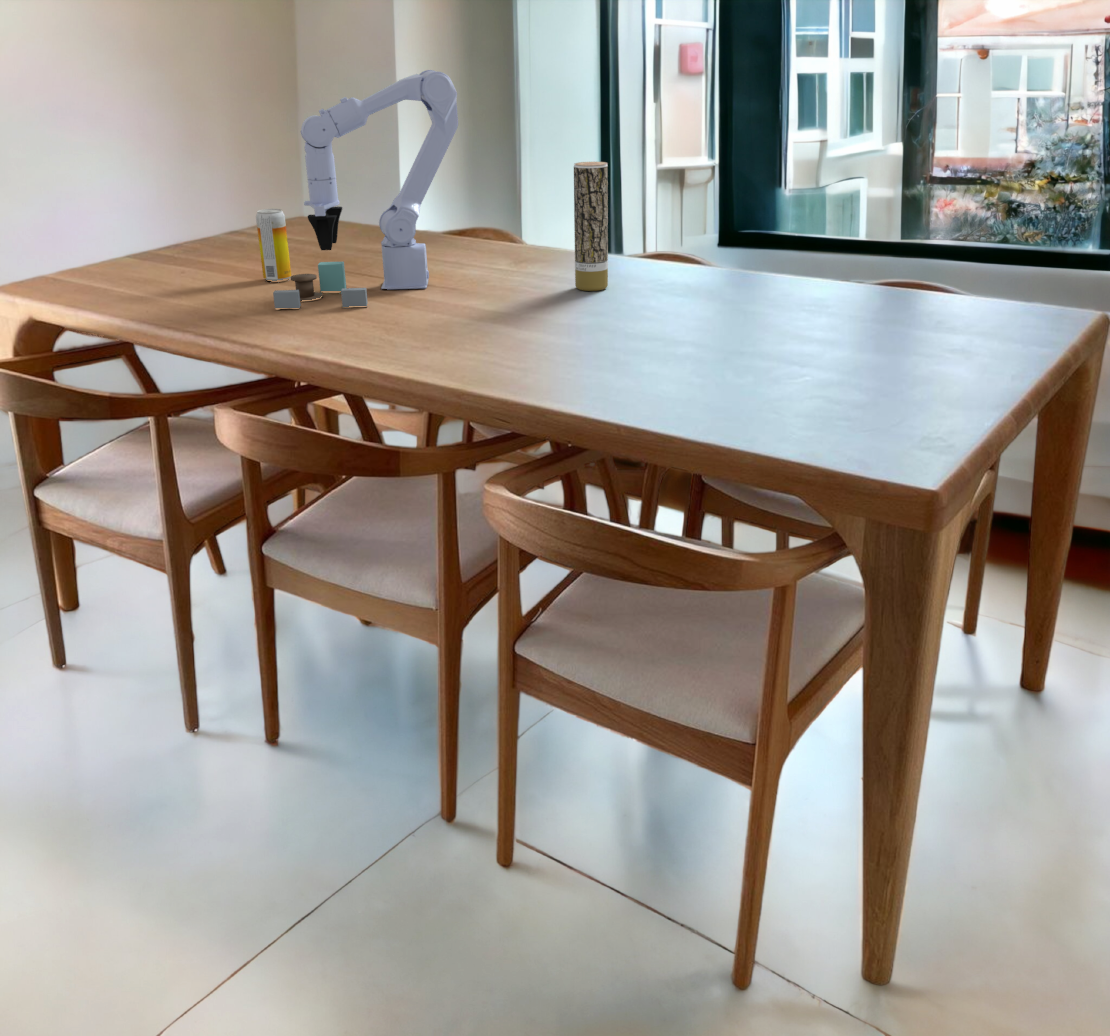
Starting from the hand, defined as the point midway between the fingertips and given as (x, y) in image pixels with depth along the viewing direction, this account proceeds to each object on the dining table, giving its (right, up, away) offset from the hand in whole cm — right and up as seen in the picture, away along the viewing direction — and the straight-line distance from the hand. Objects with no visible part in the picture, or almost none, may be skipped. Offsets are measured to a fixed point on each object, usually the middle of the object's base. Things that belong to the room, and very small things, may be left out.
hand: (328, 246), depth 236 cm
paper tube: (+54, -9, +2) cm, 55 cm away
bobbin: (-4, -11, -1) cm, 12 cm away
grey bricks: (0, -14, -10) cm, 17 cm away
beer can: (-14, -4, +16) cm, 22 cm away
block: (0, -9, +4) cm, 9 cm away
